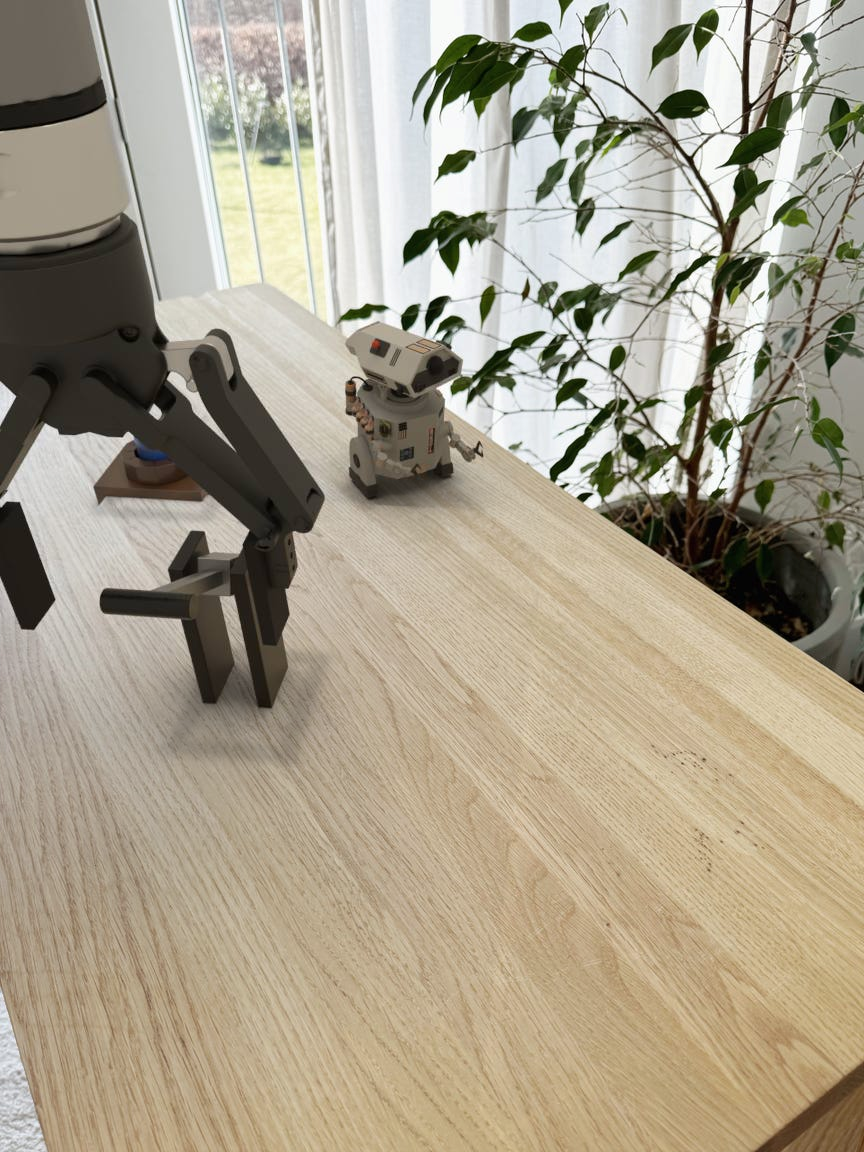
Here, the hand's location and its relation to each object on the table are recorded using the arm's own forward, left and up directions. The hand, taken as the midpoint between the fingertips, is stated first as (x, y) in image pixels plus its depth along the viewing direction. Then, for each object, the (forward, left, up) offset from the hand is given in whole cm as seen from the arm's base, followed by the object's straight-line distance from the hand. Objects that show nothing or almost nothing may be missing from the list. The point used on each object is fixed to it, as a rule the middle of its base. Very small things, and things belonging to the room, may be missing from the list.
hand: (156, 622), depth 55 cm
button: (-16, +37, -11) cm, 42 cm away
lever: (0, +5, -3) cm, 5 cm away
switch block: (-16, +37, -15) cm, 43 cm away
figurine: (+7, +39, -15) cm, 42 cm away
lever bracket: (0, +10, -15) cm, 18 cm away
